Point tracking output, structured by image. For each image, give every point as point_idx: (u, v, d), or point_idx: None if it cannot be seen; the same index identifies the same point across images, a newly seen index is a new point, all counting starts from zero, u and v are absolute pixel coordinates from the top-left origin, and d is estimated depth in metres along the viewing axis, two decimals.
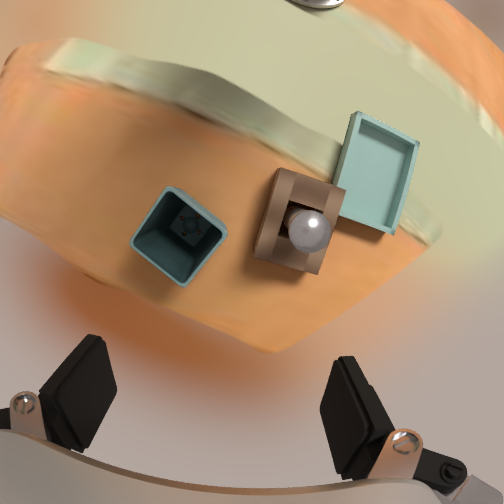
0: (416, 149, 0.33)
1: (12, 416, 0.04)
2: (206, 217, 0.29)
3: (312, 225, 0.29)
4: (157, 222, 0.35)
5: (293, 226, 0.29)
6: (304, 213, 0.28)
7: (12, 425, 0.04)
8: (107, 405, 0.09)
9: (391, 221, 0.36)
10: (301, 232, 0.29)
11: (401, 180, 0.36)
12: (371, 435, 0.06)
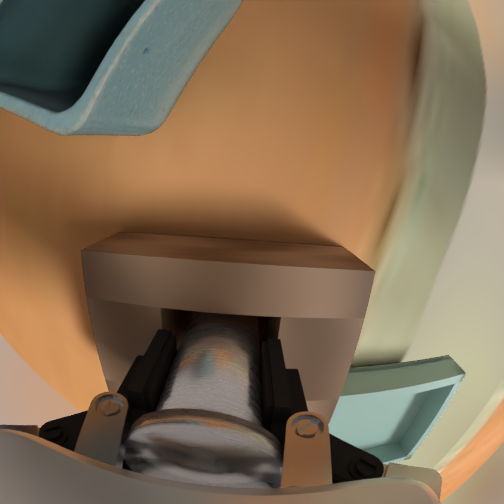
0: (400, 459, 0.16)
1: (90, 413, 0.06)
2: (141, 11, 0.03)
3: (231, 478, 0.06)
4: None
5: (200, 441, 0.05)
6: (270, 459, 0.05)
7: (85, 422, 0.05)
8: None
9: None
10: (188, 460, 0.05)
11: None
12: (275, 413, 0.07)
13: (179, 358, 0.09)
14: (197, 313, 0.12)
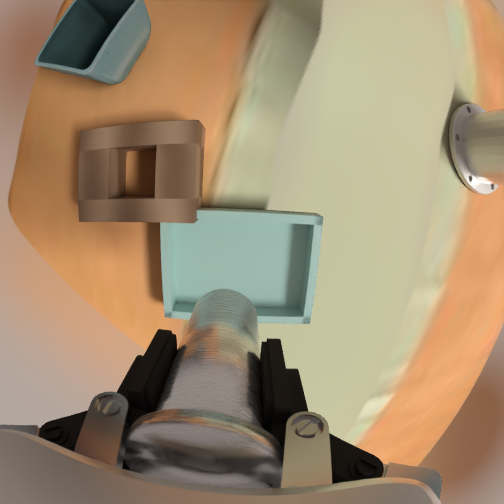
0: (297, 320, 0.27)
1: (90, 413, 0.06)
2: (104, 43, 0.14)
3: (230, 478, 0.06)
4: (112, 18, 0.17)
5: (200, 442, 0.05)
6: (270, 460, 0.05)
7: (85, 422, 0.05)
8: None
9: (182, 309, 0.27)
10: (188, 460, 0.05)
11: None
12: (275, 413, 0.07)
13: (179, 359, 0.09)
14: (197, 313, 0.12)
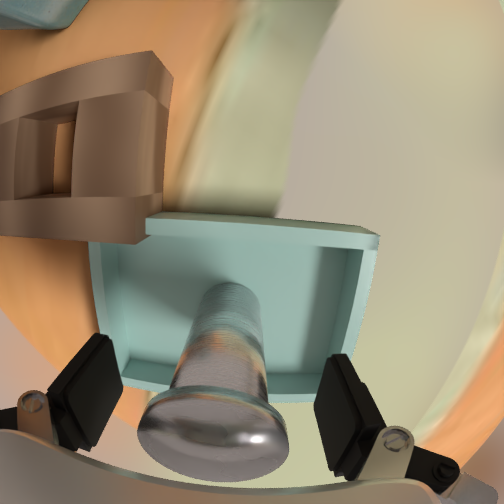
0: None
1: (19, 415, 0.05)
2: None
3: (238, 454, 0.06)
4: None
5: (212, 414, 0.06)
6: (275, 432, 0.06)
7: (19, 424, 0.04)
8: (114, 403, 0.09)
9: (136, 373, 0.15)
10: (200, 435, 0.06)
11: None
12: (362, 432, 0.06)
13: (189, 345, 0.10)
14: (204, 305, 0.13)
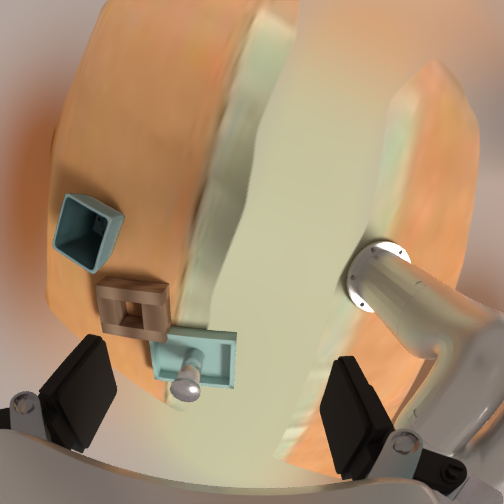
0: (226, 386, 0.46)
1: (12, 416, 0.04)
2: (98, 255, 0.33)
3: (190, 392, 0.37)
4: None
5: (184, 383, 0.36)
6: (195, 387, 0.36)
7: (12, 425, 0.04)
8: (107, 405, 0.09)
9: (163, 375, 0.46)
10: (182, 387, 0.36)
11: None
12: (371, 435, 0.06)
13: (181, 368, 0.40)
14: (185, 356, 0.44)
